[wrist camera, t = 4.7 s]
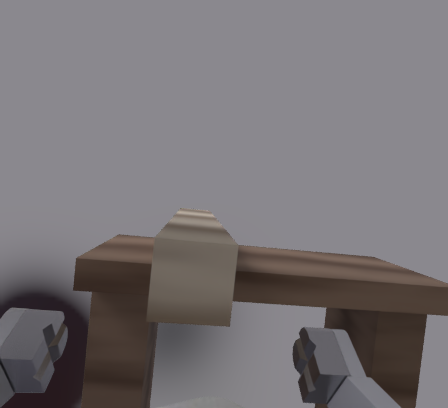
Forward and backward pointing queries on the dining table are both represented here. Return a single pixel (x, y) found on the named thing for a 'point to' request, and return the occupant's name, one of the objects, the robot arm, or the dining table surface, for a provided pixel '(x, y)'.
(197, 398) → the dining table surface
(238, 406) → the dining table surface
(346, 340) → the robot arm
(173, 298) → the birch bar
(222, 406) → the dining table surface
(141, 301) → the walnut shelf
